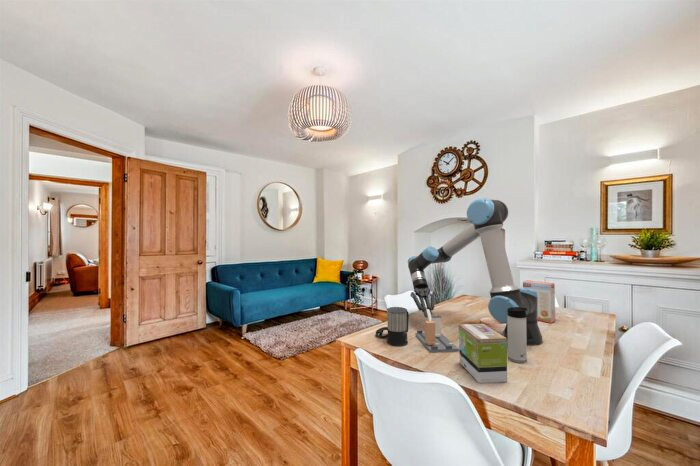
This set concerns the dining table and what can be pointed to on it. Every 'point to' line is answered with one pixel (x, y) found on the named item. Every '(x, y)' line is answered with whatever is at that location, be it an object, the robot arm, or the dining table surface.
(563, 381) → the dining table surface
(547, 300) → the cracker box
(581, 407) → the dining table surface
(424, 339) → the fader console
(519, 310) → the travel mug
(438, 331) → the ivory fader tab
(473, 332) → the tea box
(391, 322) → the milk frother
